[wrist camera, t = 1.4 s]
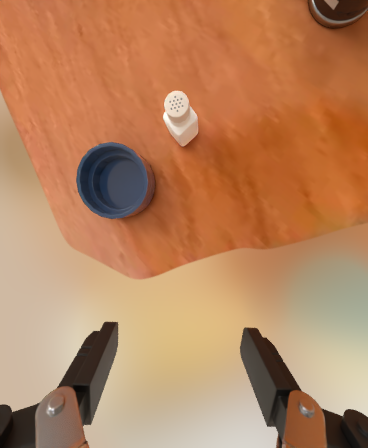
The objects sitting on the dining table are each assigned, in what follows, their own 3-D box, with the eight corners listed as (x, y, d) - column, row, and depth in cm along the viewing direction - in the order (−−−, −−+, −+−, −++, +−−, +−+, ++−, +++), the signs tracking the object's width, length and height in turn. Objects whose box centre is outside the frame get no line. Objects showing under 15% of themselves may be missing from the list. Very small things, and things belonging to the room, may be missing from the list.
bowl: (89, 156, 34) (70, 148, 30) (150, 146, 33) (141, 136, 28) (100, 219, 36) (83, 222, 31) (159, 212, 34) (152, 214, 29)
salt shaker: (182, 149, 32) (174, 127, 23) (168, 131, 32) (154, 103, 23) (200, 133, 32) (198, 104, 22) (185, 115, 32) (178, 79, 22)
